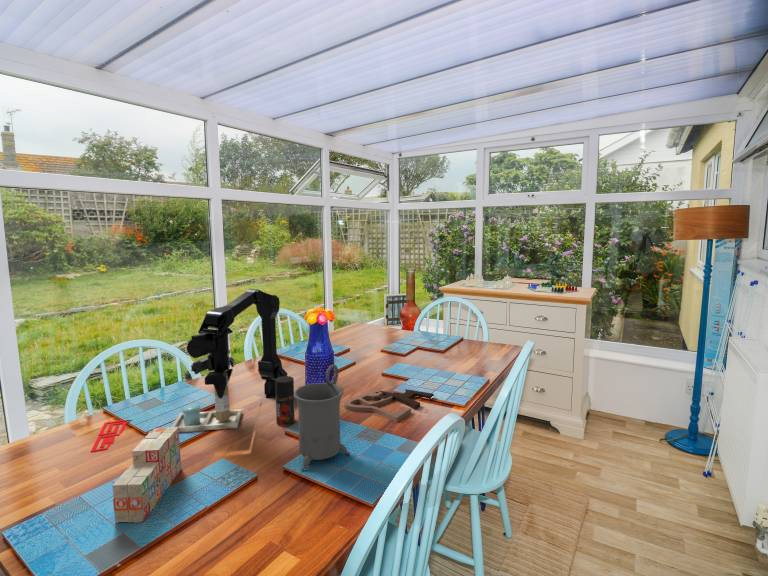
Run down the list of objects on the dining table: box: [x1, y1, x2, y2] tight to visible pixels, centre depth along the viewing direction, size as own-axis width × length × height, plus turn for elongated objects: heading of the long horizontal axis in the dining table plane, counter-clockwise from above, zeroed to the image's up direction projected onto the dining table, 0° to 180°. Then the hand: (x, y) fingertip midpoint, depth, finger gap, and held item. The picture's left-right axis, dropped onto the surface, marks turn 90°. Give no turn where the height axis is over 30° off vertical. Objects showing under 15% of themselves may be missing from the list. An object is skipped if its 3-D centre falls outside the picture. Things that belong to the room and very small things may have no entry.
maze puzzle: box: [90, 419, 128, 453], centre depth 137 cm, size 20×20×1 cm
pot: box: [181, 403, 201, 426], centre depth 139 cm, size 5×5×6 cm
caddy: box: [170, 408, 243, 433], centre depth 141 cm, size 20×11×2 cm, turn 101°
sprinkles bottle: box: [213, 382, 231, 421], centre depth 141 cm, size 5×5×14 cm
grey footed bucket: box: [294, 364, 351, 471], centre depth 121 cm, size 19×15×25 cm
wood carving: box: [342, 388, 435, 423], centre depth 160 cm, size 28×2×24 cm
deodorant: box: [275, 375, 296, 427], centre depth 142 cm, size 6×6×15 cm
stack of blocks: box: [112, 426, 182, 524], centre depth 104 cm, size 21×6×12 cm, turn 4°
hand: (221, 395), depth 140 cm, fingers closed on sprinkles bottle, 4 cm apart
